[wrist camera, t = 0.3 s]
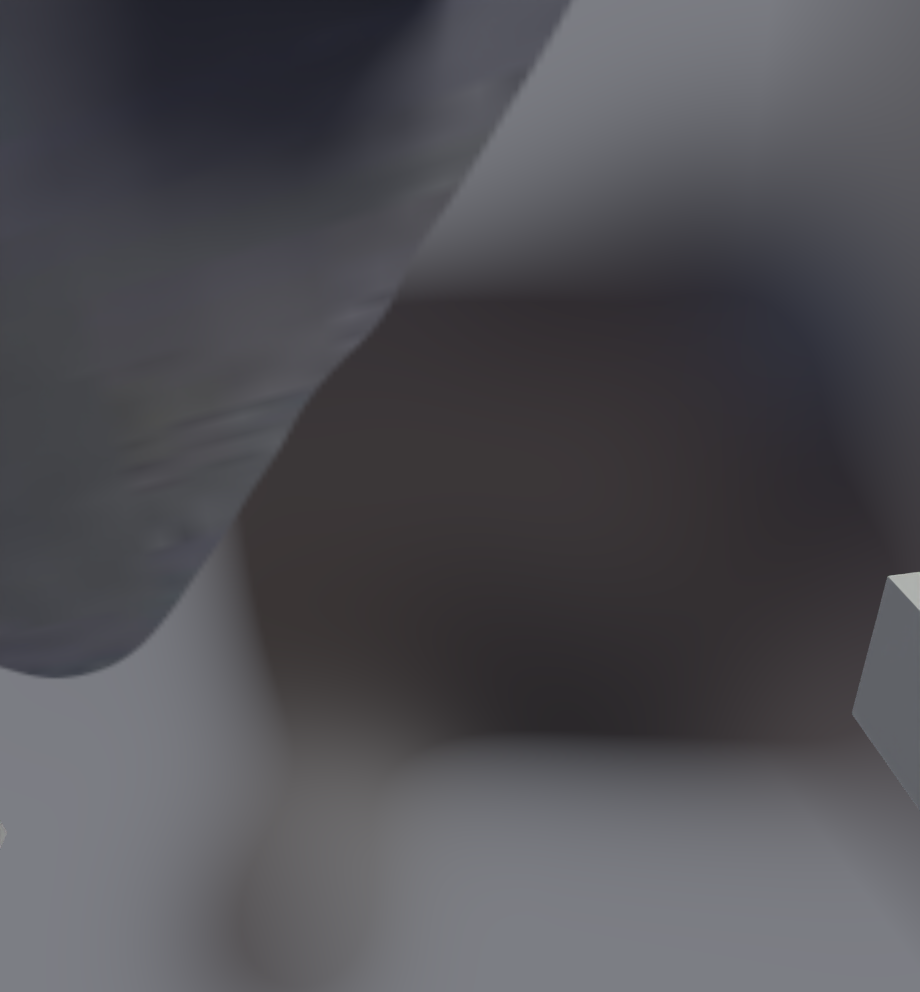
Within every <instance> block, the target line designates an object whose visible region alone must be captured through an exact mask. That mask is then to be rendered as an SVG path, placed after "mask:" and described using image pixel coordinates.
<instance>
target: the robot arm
mask: <svg viewBox="0 0 920 992" xmlns="http://www.w3.org/2000/svg"><path fill="white" fill-rule="evenodd" d="M852 714H853V716H854V718H855V719H856V720H857V722H858V723H859V725H860V726H861V728H862V729H863V730H864V732H865V733H866V735H867V736H868V738H869V739H870V740H871V742H872V743H873V745H874V746H875V748H876V749H877V750H878V752H879V753H880V755H881V756H882V758H883V759H884V761H885V762H886V763H887V765H888V766H889V768H890V769H891V770H892V772H893V773H894V775H895V776H896V777H897V779H898V781H899V782H900V783H901V785H902V786H903V788H904V789H905V791H906V792H907V793H908V795H909V796H910V798H911V799H912V801H913V802H914V803H915V805H916V806H917V808H918V809H919V811H920V572H916V573H908V574H900V575H893V576H888V578H887V581H886V585H885V589H884V593H883V596H882V600H881V604H880V608H879V612H878V616H877V619H876V623H875V627H874V631H873V634H872V639H871V642H870V646H869V650H868V654H867V657H866V662H865V665H864V669H863V673H862V677H861V680H860V684H859V688H858V692H857V696H856V700H855V703H854V707H853V711H852ZM6 834H7V831H6V830H5V828H4V826H3V825H2V823H1V821H0V849H1V846H2V844H3V842H4V839H5V836H6Z"/></svg>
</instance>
